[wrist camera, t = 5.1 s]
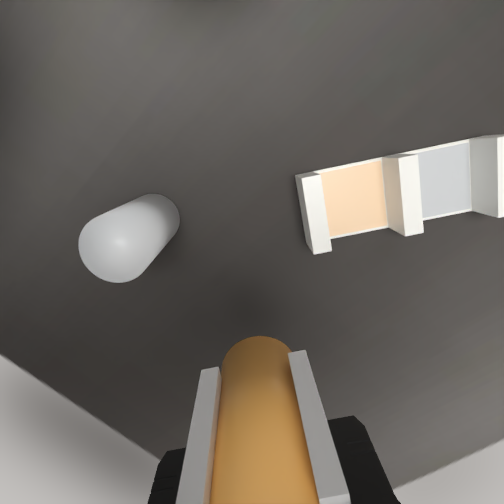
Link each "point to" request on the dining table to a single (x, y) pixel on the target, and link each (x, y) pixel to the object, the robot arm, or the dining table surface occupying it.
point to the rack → (402, 190)
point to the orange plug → (260, 430)
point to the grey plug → (128, 237)
